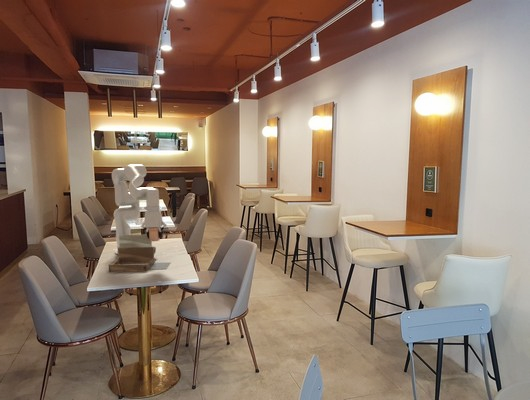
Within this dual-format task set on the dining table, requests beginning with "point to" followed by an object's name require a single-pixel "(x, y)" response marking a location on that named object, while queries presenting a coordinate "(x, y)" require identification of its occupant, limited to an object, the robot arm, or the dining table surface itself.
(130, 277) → the dining table surface
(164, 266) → the slate mat
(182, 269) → the dining table surface
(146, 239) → the box
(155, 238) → the terracotta pot
